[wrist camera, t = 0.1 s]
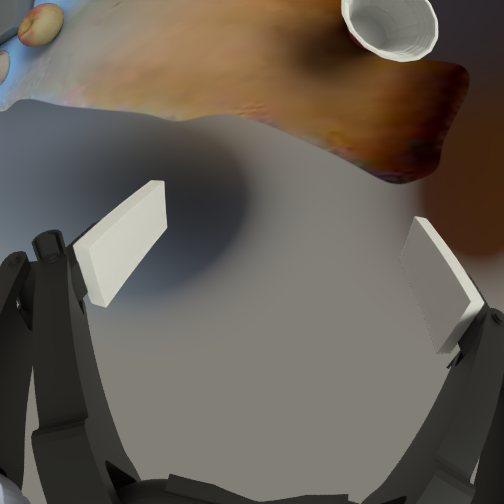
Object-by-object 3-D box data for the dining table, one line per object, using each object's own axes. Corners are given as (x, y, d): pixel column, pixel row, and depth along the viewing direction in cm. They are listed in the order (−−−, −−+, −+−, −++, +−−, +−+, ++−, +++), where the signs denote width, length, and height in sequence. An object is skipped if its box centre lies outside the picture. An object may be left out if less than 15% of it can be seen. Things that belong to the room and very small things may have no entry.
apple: (36, 40, 30) (7, 42, 23) (54, 2, 25) (26, -1, 19) (58, 50, 32) (27, 52, 25) (78, 9, 27) (49, 5, 20)
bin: (-2, -10, 18) (-16, -9, 14) (45, -44, 17) (30, -47, 12) (-13, 54, 29) (-27, 57, 25) (30, 26, 27) (13, 27, 23)
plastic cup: (321, 53, 30) (332, 38, 20) (336, -9, 24) (349, -41, 14) (394, 79, 30) (430, 78, 20) (408, 19, 24) (445, 0, 14)
